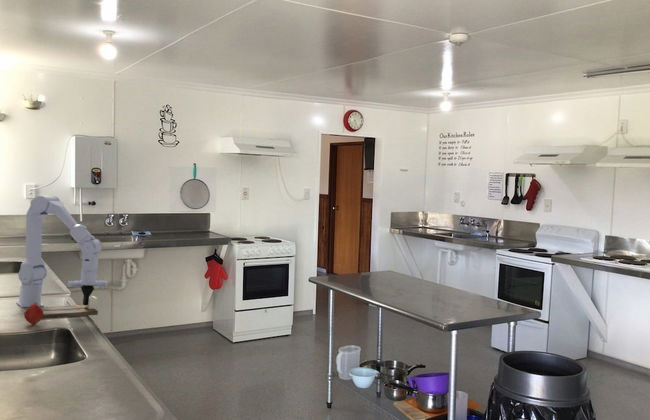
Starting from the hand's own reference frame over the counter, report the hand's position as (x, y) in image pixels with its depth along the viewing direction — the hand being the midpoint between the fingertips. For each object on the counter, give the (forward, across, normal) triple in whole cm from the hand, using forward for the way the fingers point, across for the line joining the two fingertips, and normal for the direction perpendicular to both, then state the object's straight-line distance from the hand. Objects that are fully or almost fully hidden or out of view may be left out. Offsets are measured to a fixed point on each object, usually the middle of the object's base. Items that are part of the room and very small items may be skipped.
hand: (86, 304), depth 219 cm
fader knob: (+1, +2, 0) cm, 2 cm away
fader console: (+3, -8, 0) cm, 8 cm away
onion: (+3, -22, -14) cm, 26 cm away
